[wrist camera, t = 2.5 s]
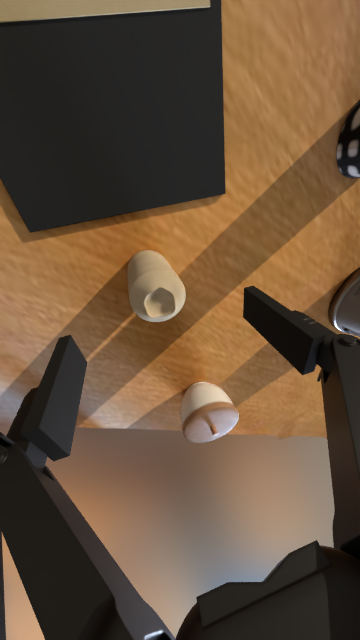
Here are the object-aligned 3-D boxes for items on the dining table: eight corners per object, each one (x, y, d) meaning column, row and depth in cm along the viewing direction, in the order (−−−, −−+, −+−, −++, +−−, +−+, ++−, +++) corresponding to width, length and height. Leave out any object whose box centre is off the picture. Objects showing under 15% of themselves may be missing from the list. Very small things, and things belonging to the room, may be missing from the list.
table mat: (210, -348, 10) (214, -371, 10) (223, 193, 24) (225, 193, 23) (-327, -434, 8) (-353, -470, 7) (31, 232, 21) (29, 232, 21)
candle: (176, 267, 27) (201, 298, 19) (151, 297, 28) (164, 338, 20) (144, 239, 24) (156, 262, 16) (118, 274, 25) (116, 311, 17)
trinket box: (164, 392, 40) (174, 440, 32) (209, 364, 39) (231, 406, 31) (189, 413, 46) (203, 457, 38) (228, 390, 45) (251, 430, 37)
